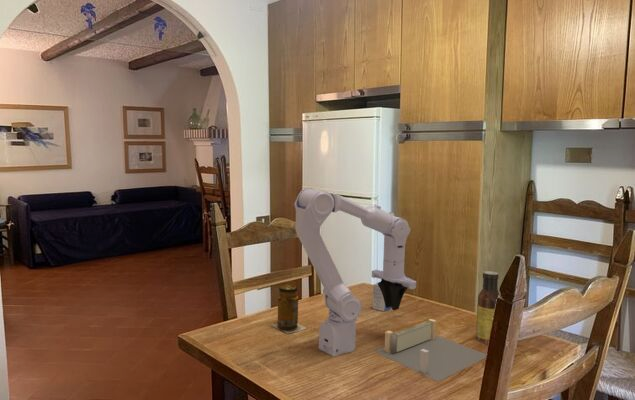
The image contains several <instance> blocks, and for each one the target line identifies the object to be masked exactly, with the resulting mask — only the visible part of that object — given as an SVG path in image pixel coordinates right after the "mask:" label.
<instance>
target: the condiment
mask: <svg viewBox="0 0 635 400" xmlns="http://www.w3.org/2000/svg"><path fill="white" fill-rule="evenodd" d="M278 290H279V291H278V294H279V295H278V296H277V323H273V324H271V326H272V327H273V328H275V329H277V330H279V331H282V332H283V333H285V334H292V333H296V332H300V331H304V330H307V329H308V328H307V327H305V326H304V325H302V324H299V323H298V322H299V321H298V320H299V296H298V287H297V286H295V285H289V284H286V285H280V287H279V289H278Z"/></svg>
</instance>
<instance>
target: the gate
mask: <svg viewBox="0 0 635 400" xmlns="http://www.w3.org/2000/svg"><path fill="white" fill-rule="evenodd" d="M431 324H432V323H430V322H428V321H425V322H423V323H420V324H416V325H413V326H412V327H411V326H410V327H408V328H406V329H403V330H401V331H398V332H393V334H392V348H391V352H392V353H395V351H396V352H399V351H402V350H404V349H407V348H409V347H412V346H414V345H417V344H419V343H422V342H424V341H427V340H429V339H431Z"/></svg>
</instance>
